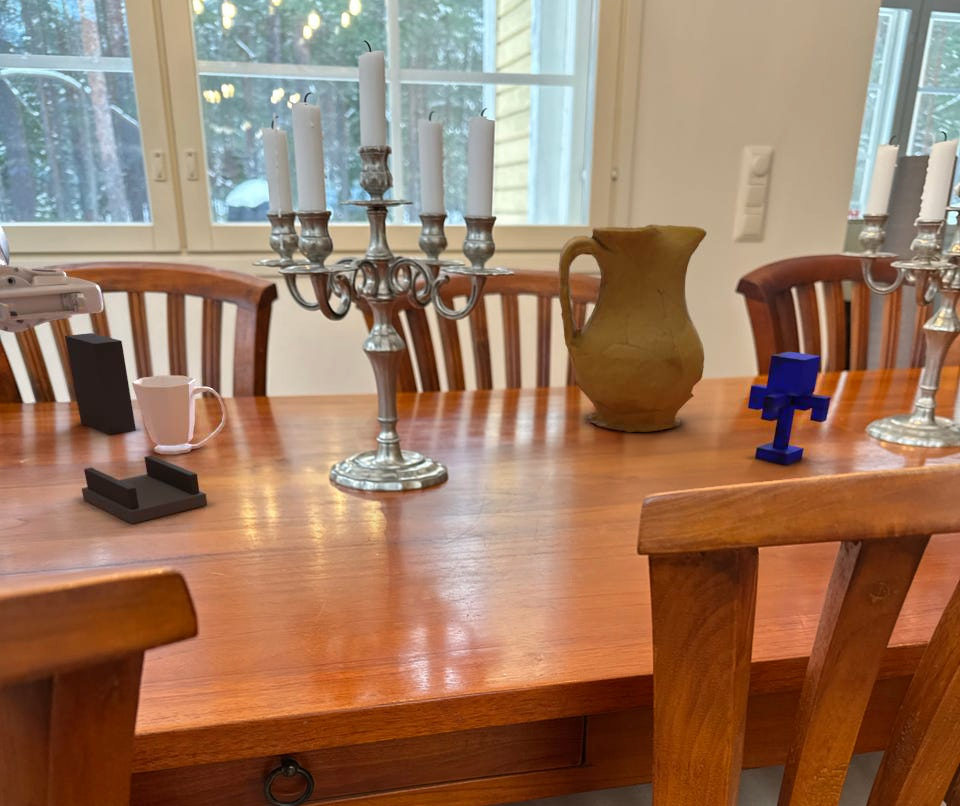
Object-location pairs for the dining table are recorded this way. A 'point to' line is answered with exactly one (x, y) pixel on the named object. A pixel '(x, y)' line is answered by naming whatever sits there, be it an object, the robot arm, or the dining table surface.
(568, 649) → the dining table surface
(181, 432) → the cup
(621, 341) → the pitcher
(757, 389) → the figurine
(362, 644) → the dining table surface
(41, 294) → the robot arm
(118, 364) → the upright pad
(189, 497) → the base pad
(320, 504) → the dining table surface
